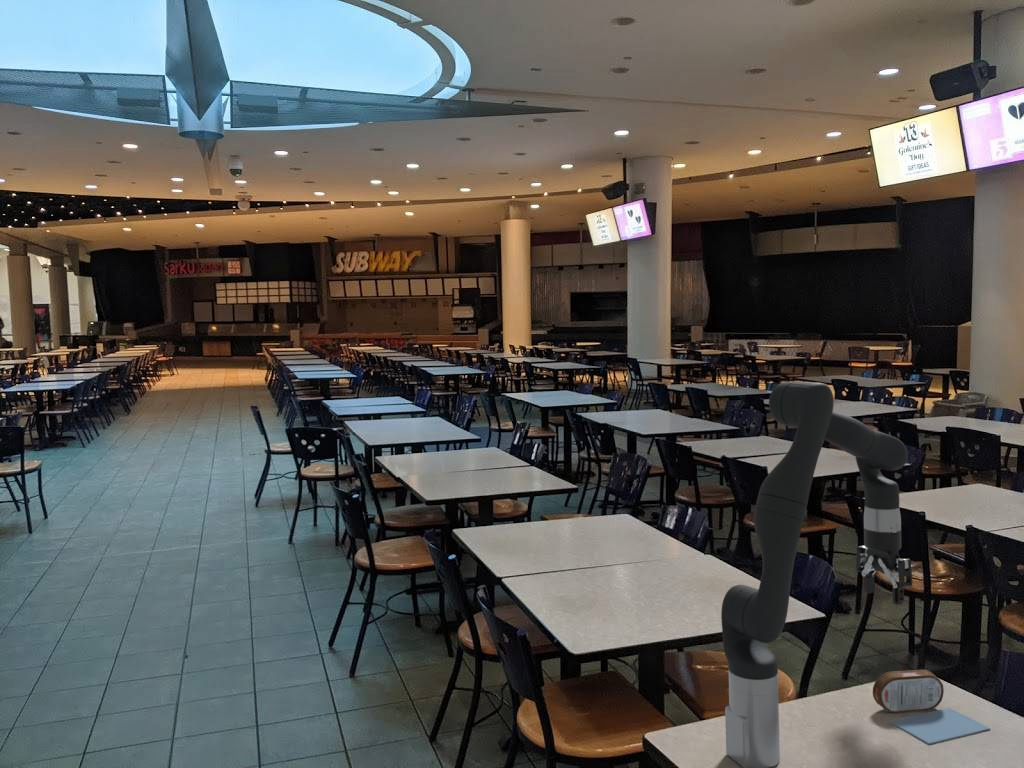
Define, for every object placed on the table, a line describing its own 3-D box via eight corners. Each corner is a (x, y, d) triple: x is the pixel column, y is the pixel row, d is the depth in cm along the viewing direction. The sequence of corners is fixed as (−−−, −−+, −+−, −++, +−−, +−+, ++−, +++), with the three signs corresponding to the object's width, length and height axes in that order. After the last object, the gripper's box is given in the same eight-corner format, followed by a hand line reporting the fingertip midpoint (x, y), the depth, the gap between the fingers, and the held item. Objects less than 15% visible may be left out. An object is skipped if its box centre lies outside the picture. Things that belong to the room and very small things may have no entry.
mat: (929, 744, 157) (929, 743, 157) (890, 722, 166) (890, 721, 166) (990, 729, 162) (990, 728, 162) (949, 709, 171) (949, 707, 171)
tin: (937, 704, 174) (937, 666, 174) (946, 710, 171) (946, 672, 170) (871, 709, 173) (871, 671, 172) (879, 716, 170) (879, 677, 169)
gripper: (846, 522, 182) (847, 591, 183) (892, 535, 169) (894, 610, 170) (872, 518, 185) (874, 587, 185) (921, 531, 171) (922, 605, 172)
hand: (883, 598), depth 177 cm, fingers open, 8 cm apart
